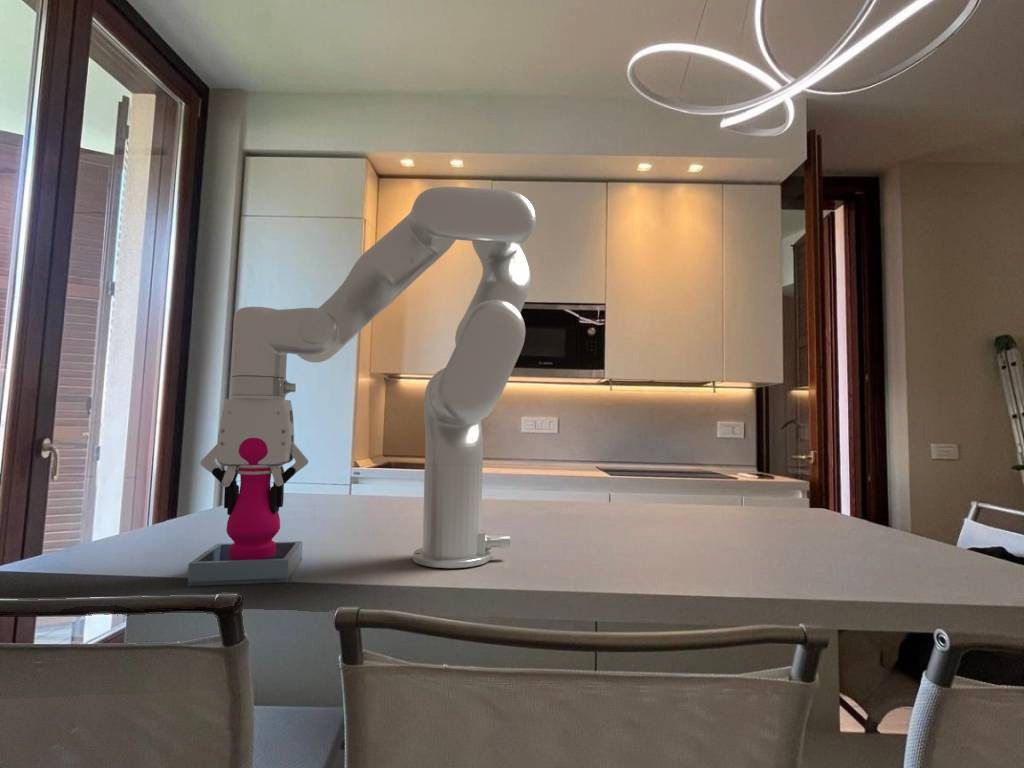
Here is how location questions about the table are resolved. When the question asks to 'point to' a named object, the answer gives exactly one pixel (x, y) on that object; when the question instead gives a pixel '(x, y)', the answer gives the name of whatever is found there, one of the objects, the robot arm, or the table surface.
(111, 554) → the table surface
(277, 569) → the tray
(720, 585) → the table surface
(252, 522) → the pepper mill
